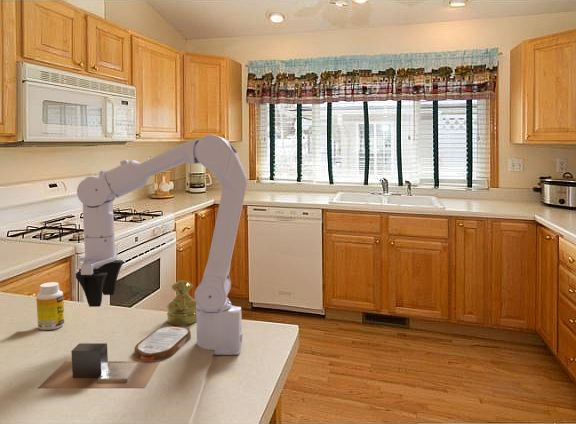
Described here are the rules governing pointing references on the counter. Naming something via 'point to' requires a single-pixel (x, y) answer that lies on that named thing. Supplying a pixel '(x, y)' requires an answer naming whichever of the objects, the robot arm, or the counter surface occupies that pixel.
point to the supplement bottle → (50, 306)
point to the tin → (162, 343)
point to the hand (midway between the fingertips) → (102, 300)
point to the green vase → (182, 305)
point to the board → (66, 380)
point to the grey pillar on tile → (99, 364)
